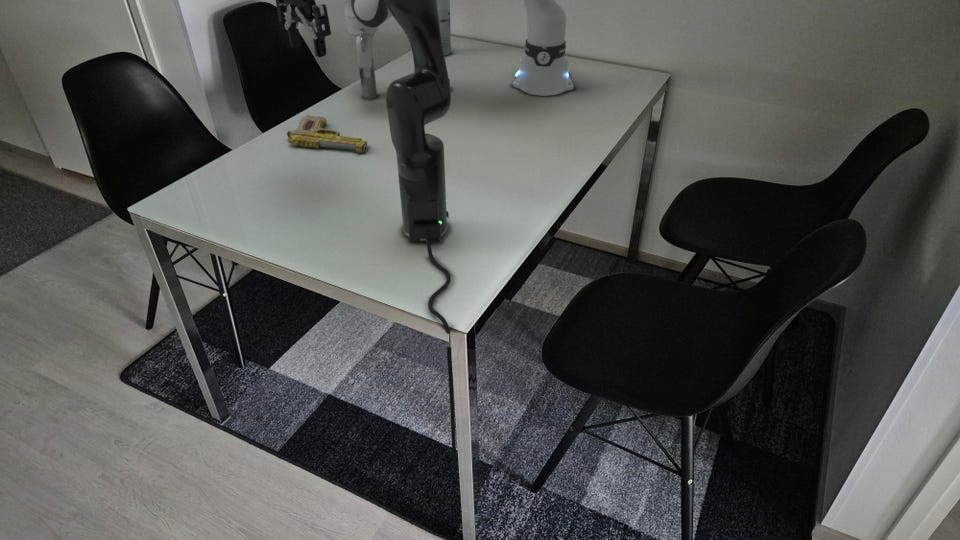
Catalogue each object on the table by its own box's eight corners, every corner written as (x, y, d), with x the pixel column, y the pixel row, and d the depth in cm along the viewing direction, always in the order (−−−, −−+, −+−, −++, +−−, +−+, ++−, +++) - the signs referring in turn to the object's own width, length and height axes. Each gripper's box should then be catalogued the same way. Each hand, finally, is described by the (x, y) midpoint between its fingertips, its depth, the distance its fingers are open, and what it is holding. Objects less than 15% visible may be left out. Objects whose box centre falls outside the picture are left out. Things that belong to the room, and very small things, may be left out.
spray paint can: (430, 51, 220) (427, -10, 208) (447, 48, 222) (445, -12, 209) (435, 57, 215) (433, -5, 203) (453, 54, 217) (452, -7, 205)
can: (361, 97, 187) (356, 61, 180) (364, 91, 190) (359, 56, 183) (375, 97, 186) (371, 61, 180) (378, 92, 190) (374, 56, 183)
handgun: (382, 130, 171) (364, 155, 159) (304, 122, 174) (280, 145, 162) (382, 122, 169) (363, 146, 157) (303, 113, 172) (278, 136, 161)
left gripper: (333, -30, 121) (344, 54, 131) (288, -41, 128) (302, 40, 138) (301, -23, 116) (315, 64, 126) (256, -34, 124) (273, 48, 134)
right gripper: (373, 35, 168) (378, 85, 176) (373, 13, 184) (378, 60, 192) (349, 36, 167) (356, 86, 176) (351, 14, 183) (357, 61, 192)
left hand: (308, 51), depth 132 cm, fingers open, 8 cm apart
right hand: (367, 72), depth 184 cm, fingers open, 4 cm apart
